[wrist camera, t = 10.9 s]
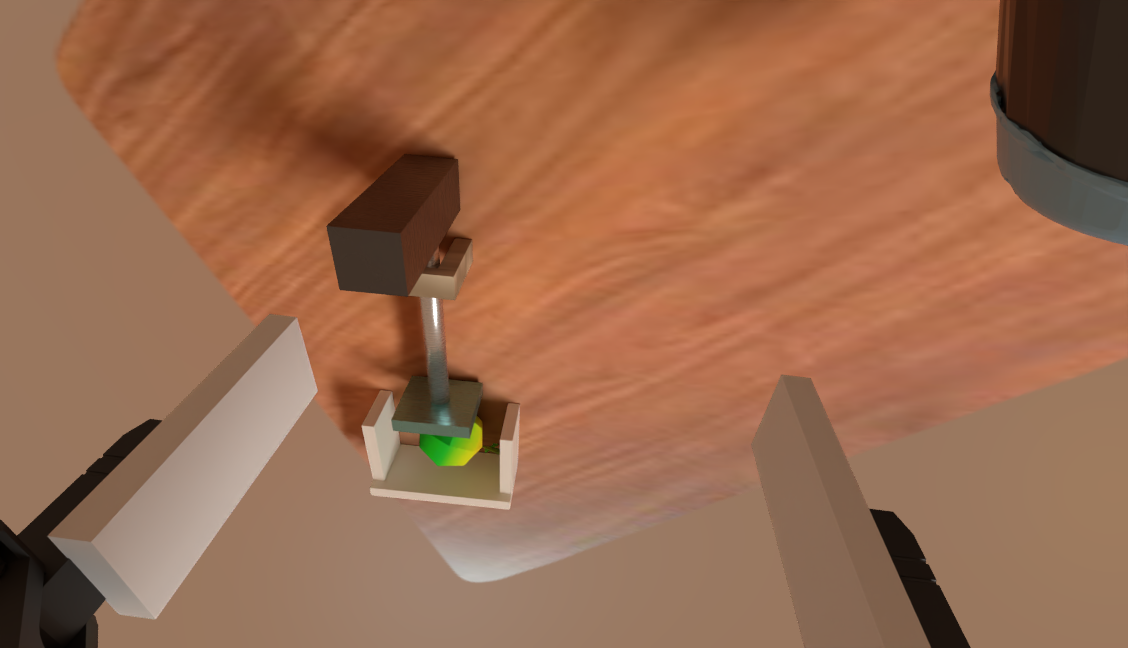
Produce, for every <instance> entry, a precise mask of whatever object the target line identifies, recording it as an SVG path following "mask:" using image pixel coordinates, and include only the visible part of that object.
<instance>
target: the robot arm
mask: <svg viewBox="0 0 1128 648" xmlns="http://www.w3.org/2000/svg"><path fill="white" fill-rule="evenodd" d="M990 98H991V104H992V107H993V109H994V111H995V113H996V118H997V160H998V165H999V168H1000V171H1001V174H1002V176H1003V178H1004V179H1005V180H1006V181H1007V182H1008V183H1009V184H1010V185H1011V186H1012V188H1013V190H1014V192H1015V194H1017V195H1018V196H1019V198H1020V199H1021V200H1022V201H1023V202H1024V203H1025V204H1027V205H1028V206H1029V207H1031V208H1032V209H1034V210H1035V211H1037V212H1038V213H1040V214H1041V215H1043V216H1045V217H1047V218H1048V219H1050V220H1052V221H1054V222H1056V223H1059V224H1061V225H1063V226H1065V227H1068V228H1070V229H1073V230H1075V231H1078V232H1081V233H1083V234H1086V235H1090V236H1093V237H1096V238H1100V239H1103V240H1107V241H1111V242H1114V243H1119V244H1123V245H1127V246H1128V0H1000V9H999V26H998V44H997V61H996V71H995V73H994V75H993V76H992V78H991V82H990ZM317 392H318V390H317V387H316V383H315V380H314V376H313V373H312V369H311V366H310V362H309V359H308V355H307V352H306V348H305V344H304V341H303V337H302V334H301V330H300V327H299V323H298V320H297V317H290V316H282V315H273V314H269V315H268V316H267V317H266V318H265V319H264V320H263V321H262V322H261V323H260V324H259V325H258V326H257V327H256V328H255V329H254V330H253V331H252V332H251V333H250V334H249V335H248V336H247V337H246V338H245V339H244V340H243V341H242V342H241V343H240V344H239V345H238V346H237V347H236V348H235V349H234V350H233V351H232V352H231V353H230V354H229V355H228V356H227V357H226V358H225V359H224V360H223V361H222V362H221V363H220V364H219V365H218V366H217V367H216V368H215V369H214V370H213V371H212V372H211V373H210V374H209V375H208V376H207V377H206V378H205V379H204V380H203V381H202V382H201V383H200V384H199V385H198V386H197V387H196V388H195V389H194V390H193V391H192V392H191V393H190V394H189V395H188V396H187V397H186V398H185V399H184V400H183V401H182V402H181V403H180V404H179V405H178V406H177V407H176V408H175V409H174V410H173V411H172V412H171V413H170V414H169V415H168V416H167V417H166V418H165V419H164V420H163V421H162V420H154V419H149V420H148V421H146V422H144V423H143V424H141V425H139V426H138V427H136V428H134V429H133V430H131V431H129V432H128V433H126V434H124V435H123V436H122V437H121V438H120V439H119V440H118V441H117V442H116V443H114V444H113V445H112V446H111V447H110V448H109V449H108V450H107V451H106V452H105V453H104V454H103V457H102V458H99V459H98V460H97V461H96V462H94V464H92V465H91V466H90V467H89V468H88V469H87V470H86V471H87V472H86V474H84V475H83V474H82V475H81V476H80V477H79V478H78V479H77V480H75V481H74V483H72V484H71V485H70V486H69V487H68V488H67V489H66V490H65V491H64V492H63V493H62V494H61V495H60V496H59V497H58V498H57V499H55V500H54V501H53V502H52V503H51V504H50V505H49V506H48V507H47V508H46V509H45V510H44V511H43V512H42V513H41V514H40V515H39V516H38V517H37V518H36V519H34V521H32V522H31V523H30V524H29V525H28V526H27V527H26V528H25V529H24V530H23V531H22V532H21V533H20V534H18V535H17V536H16V535H15V534H14V533H13V532H12V531H11V529H10V528H9V527H7V525H6V524H4V522H3V521H2V520H0V648H98V624H97V621H96V617H95V616H94V615H93V614H94V613H95V612H96V610H97V609H98V608H99V607H100V606H101V604H102V603H103V602H104V601H105V600H106V601H107V602H108V603H109V604H110V605H111V606H112V608H113V609H114V610H115V611H116V612H117V613H118V614H121V615H128V616H135V617H142V618H149V619H156V618H157V617H158V615H159V614H160V613H161V611H162V610H163V608H164V607H165V605H166V604H167V603H168V601H169V600H170V598H171V597H172V596H173V594H174V593H175V591H176V590H177V589H178V587H179V586H180V584H181V583H182V582H183V580H184V579H185V577H186V576H187V574H188V573H189V572H190V570H191V569H192V568H193V566H194V564H195V563H196V562H197V560H198V559H199V558H200V556H201V555H202V553H203V552H204V551H205V549H206V548H207V546H208V545H209V544H210V542H211V541H212V539H213V538H214V537H215V535H216V533H217V532H218V531H219V530H220V528H221V527H222V525H223V524H224V522H225V521H226V519H227V518H228V517H229V515H230V514H231V513H232V511H233V510H234V508H235V507H236V506H237V504H238V503H239V501H240V500H241V499H242V497H243V496H244V494H245V493H246V491H247V490H248V489H249V487H250V486H251V484H252V483H253V482H254V480H255V479H256V477H257V476H258V475H259V473H260V472H261V470H262V469H263V468H264V466H265V464H266V463H267V462H268V460H269V459H270V458H271V456H272V455H273V453H274V452H275V451H276V449H277V448H278V446H279V445H280V444H281V442H282V441H283V439H284V438H285V437H286V435H287V434H288V432H289V431H290V429H291V428H292V427H293V425H294V424H295V422H296V421H297V419H298V418H299V417H300V415H301V414H302V413H303V411H304V410H305V408H306V407H307V406H308V404H309V403H310V401H311V400H312V399H313V397H314V396H315V394H316V393H317ZM751 446H752V450H753V453H754V457H755V461H756V465H757V469H758V472H759V476H760V480H761V484H762V488H763V491H764V495H765V499H766V503H767V506H768V510H769V514H770V518H771V522H772V525H773V530H774V533H775V537H776V541H777V544H778V549H779V552H780V556H781V560H782V564H783V568H784V571H785V575H786V579H787V583H788V587H789V590H790V594H791V598H792V602H793V606H794V609H795V613H796V617H797V621H798V624H799V628H800V632H801V636H802V640H803V644H804V647H805V648H970V646H969V644H968V642H967V640H966V638H965V636H964V634H963V632H962V630H961V628H960V626H959V624H958V622H957V620H956V618H955V616H954V614H953V612H952V610H951V608H950V606H949V604H948V602H947V600H946V598H945V596H944V594H943V592H942V590H941V588H940V586H939V585H937V584H936V578H935V576H934V574H933V572H932V570H931V569H930V566H929V565H928V564H926V559H925V556H924V554H923V552H922V551H921V548H920V547H919V545H918V543H917V541H916V539H915V537H914V535H913V534H912V532H911V531H910V530H909V529H908V528H907V527H906V526H905V525H904V523H903V522H902V521H901V520H900V519H899V518H898V517H897V516H896V515H895V514H894V512H890V511H882V510H875V509H874V510H873V509H869V508H868V506H867V504H866V501H865V499H864V497H863V494H862V492H861V490H860V488H859V485H858V483H857V481H856V479H855V476H854V475H853V472H852V470H851V468H850V465H849V463H848V461H847V459H846V456H845V454H844V452H843V450H842V447H841V445H840V443H839V441H838V438H837V436H836V434H835V432H834V429H833V427H832V425H831V423H830V420H829V418H828V416H827V414H826V412H825V409H824V407H823V405H822V403H821V400H820V398H819V396H818V394H817V391H816V389H815V387H814V385H813V382H812V380H811V378H805V377H797V376H788V375H781V377H780V379H779V381H778V384H777V386H776V388H775V391H774V393H773V395H772V397H771V400H770V402H769V404H768V407H767V409H766V411H765V414H764V416H763V418H762V421H761V423H760V425H759V428H758V430H757V432H756V435H755V437H754V439H753V442H752V444H751Z"/></svg>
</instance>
